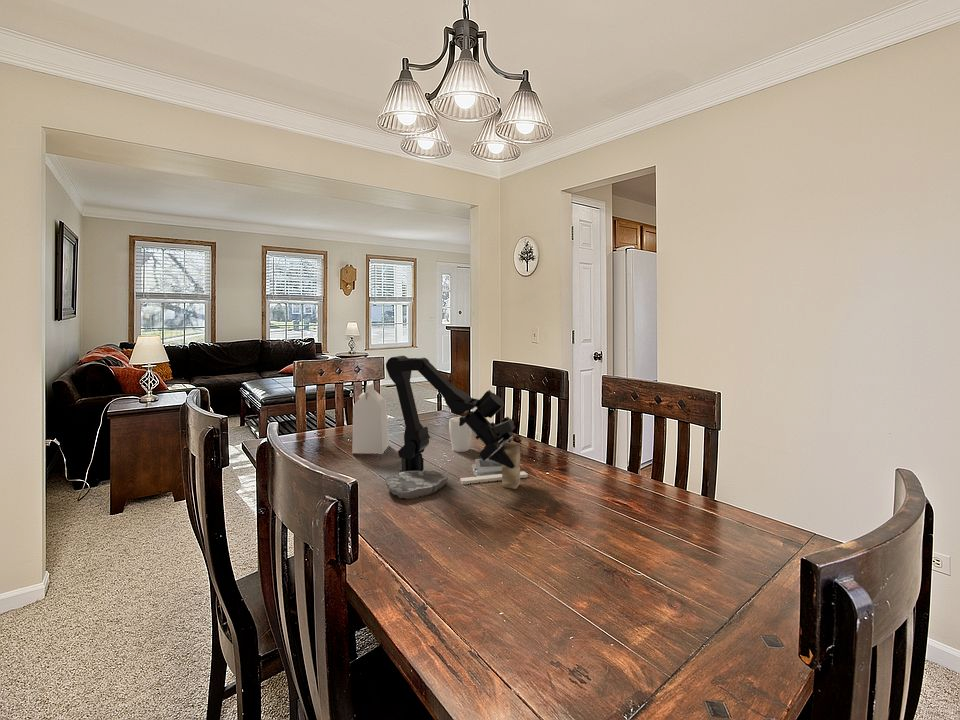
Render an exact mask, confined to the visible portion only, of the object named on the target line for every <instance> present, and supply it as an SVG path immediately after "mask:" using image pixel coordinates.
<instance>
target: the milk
mask: <svg viewBox="0 0 960 720" xmlns="http://www.w3.org/2000/svg"><path fill="white" fill-rule="evenodd" d="M388 422H389V421H388V407H387V401H386V399H385V398H384V397H383V396H382V395H381V394H380V393H379V392H378V391H377V390H375V385H374V382H369V383H367V384H366V385H365V392H361V394H359V396H358V400H357V401H355V402H354V404H353V407H352V444H351V445H352V447H351V448H352V449H351V450H352V451H351V452H352V453H375V454H376V453H379V454H383V453H384V451H385V450H386V449H387V447H388V446H389V447H390V437H389V435H390V434H389V423H388ZM389 447H388V448H389ZM387 450H388V449H387ZM387 450H386V451H387ZM386 451H385V452H386ZM352 453H351V454H352ZM384 454H385V453H384ZM384 454H383V455H384Z"/></svg>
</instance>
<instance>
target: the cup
mask: <svg viewBox="0 0 960 720" xmlns="http://www.w3.org/2000/svg"><path fill="white" fill-rule="evenodd" d="M460 417H461V416H455V417H451V418H449V420H448V423H449V424H448V430H449V438H450V442H451V443H450V444H451V450H452V451H453V452H456V453H464V452H468V451H469V450H470V447H471V440H472V439H471V438H472V432H473V431H472V429H471V428H470V427H469V426H468V425H467V424H466V423H465V424H464V425H462V426H459V423H460V419H459V418H460Z"/></svg>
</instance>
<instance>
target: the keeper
mask: <svg viewBox="0 0 960 720" xmlns="http://www.w3.org/2000/svg"><path fill="white" fill-rule="evenodd" d="M471 467H472V473H473V477H474V476H485V475H494V474H502V464H500V463H498V462H495V461H493V460H489V458H487V459H486V460H485V461H483V460H482V459H481V458H475V461H474V464H473V463H472V464H471Z"/></svg>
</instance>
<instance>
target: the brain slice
mask: <svg viewBox="0 0 960 720" xmlns="http://www.w3.org/2000/svg"><path fill="white" fill-rule="evenodd" d="M448 478H449V476H448V475H447V474H444V473H441V472H438V471H435V470H431V471H429V470H423V471H406V472H398V473H397V474H393V475H389V476H386V479H384V482H385V483H386V487H387V489H388V491H390V492H391V494H392V495H393V494H394V495H393V496H395V495H397V496H396V497H397V498H398V497H399V499H401V498H405V499H404V500H411V499H410V498H412V499H415V498H414V497H416V498H420V497H419V496H421V497H425V496H424V495H426V496H427V495H430V494H435V493H436V492H437V491H438V489H439V490H440V489H442V487H444V486H445V484H447V481H448Z"/></svg>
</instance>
